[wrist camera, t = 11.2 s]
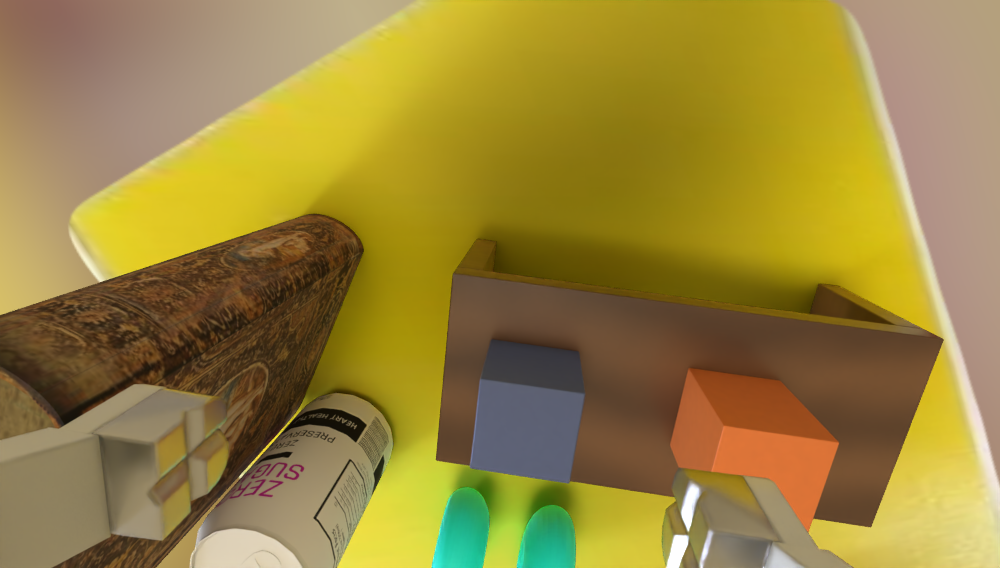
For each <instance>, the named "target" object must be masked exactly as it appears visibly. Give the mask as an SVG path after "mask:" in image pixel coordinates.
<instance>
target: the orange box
mask: <svg viewBox="0 0 1000 568" xmlns="http://www.w3.org/2000/svg"><path fill="white" fill-rule="evenodd" d="M838 445H839V442H838V441H837V440H836V439H835V438H834V437H833V436H832V435H831V434H830V432H829V431H828V430H827V429H826V428H825V427H824V426H823V425H822V424H821V423H820V422H819V421H818V420H817V419H816V418H815V417H814V416H813V415H812V414H811V413H810V412H809V410H808V409H807V408H806V407H805V406H804V405H803V404H802V403H801V402H800V401H799V400H798V399H797V398H796V397H795V396H794V395H793V394H792V393H791V392H790V391H789V389H788V388H787V387H786V386H785V385H784V384H783V383H782V382H781V381H779V380H772V379H764V378H757V377H750V376H743V375H736V374H729V373H722V372H715V371H708V370H700V369H693V368H688V372H687V377H686V381H685V385H684V389H683V393H682V397H681V402H680V406H679V410H678V414H677V418H676V422H675V427H674V431H673V435H672V439H671V443H670V447H671V449H672V452H673V454H674V457H675V459H676V462H677V464H678V467H680V468H688V469H695V470H703V471H711V472H719V473H726V474H734V475H745V476H754V477H762V478H769V479H770V480H772V481H773V482H775V484H776V485H777V487H778V488H779V490H780V491H781V493H782V494H783V496H784V497H785V499H786V500H787V502H788V503H789V505H790V506H791V508H792V509H793V511H794V512H795V514H796V515H797V517H798V518H799V520H800V521H801V523H802V524H803V526H804V527H805V529H806V530H807V532H809V529H810V526H811V523H812V520H813V517H814V514H815V511H816V509H817V506H818V503H819V500H820V497H821V494H822V491H823V488H824V486H825V483H826V480H827V477H828V474H829V471H830V468H831V465H832V462H833V460H834V457H835V454H836V451H837V448H838Z"/></svg>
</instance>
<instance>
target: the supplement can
mask: <svg viewBox="0 0 1000 568" xmlns="http://www.w3.org/2000/svg"><path fill="white" fill-rule="evenodd" d="M392 448H393V439H392V433H391V428H390V426H389V425H388V423H387V421H386V420H385V418H384V416H383V414H382V413H381V412H379V411H378V410H377V409H376V408H375V407H374V406H373V405H372V404H370V403H369V402H367V401H365V400H363V399H361V398H358V397H356V396H354V395H349V394H340V393H333V394H329V395H324V396H320V397H318V398H316V399H315V400H313V401H312V402H310V403H309V404H308V405H306V406H305V407H304V409H303V410H302V411H301V412H300V413H299V414H298V415H297V416H296V417H295V419H294V420H293V421H292V422H291V423H290V424H289V425H288V426H287V427H286V429H285V430H284V431H283V432H282V433H281V434H280V435H279V436H278V437H277V439H276V440H275V441H274V442H273V443H272V444H271V445H270V446H269V448H268V449H267V450H266V451H265V452H264V453H263V454H262V455H261V456H260V458H259V459H258V460H257V461H256V462H255V463H254V464H253V465H252V466H251V468H250V469H249V470H248V471H247V472H246V473H245V474H244V475H243V476H242V478H241V479H240V480H239V481H238V482H237V483H236V484H235V485H234V487H233V488H232V489H231V490H230V491H229V492H228V493H227V494H226V495H225V497H224V498H223V499H222V500H221V501H220V502H219V503H218V504H217V505H216V507H215V508H214V509H213V510H212V511H211V512H210V513H209V514H208V516H207V517H206V519H205V521H204V522H203V524H202V526H201V527H200V529H199V531H198V535H197V540H196V546H195V550H194V551H193V553H192V554H191V560H190V568H337V566H338V564H339V562H340V560H341V558H342V556H343V554H344V552H345V550H346V548H347V546H348V544H349V541H350V539H351V537H352V535H353V533H354V531H355V529H356V527H357V525H358V523H359V521H360V519H361V517H362V515H363V513H364V511H365V509H366V507H367V505H368V503H369V501H370V499H371V496H372V494H373V492H374V490H375V488H376V486H377V484H378V482H379V480H380V478H381V476H382V474H383V472H384V470H385V468H386V466H387V464H388V462H389V460H390V457H391V452H392Z"/></svg>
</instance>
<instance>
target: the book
mask: <svg viewBox="0 0 1000 568" xmlns="http://www.w3.org/2000/svg"><path fill="white" fill-rule="evenodd" d="M363 252H364V250H363V246H362V243H361V241H360V239H359V238H358V236H357V235H356V234H355V233H354V232H353V231H352V230H351V229H350V228H349V227H347V226H346V225H344V224H343V223H341V222H339V221H338V220H336V219H333V218H331V217H328V216H325V215H320V214H308V215H304V216H301V217H298V218H295V219H292V220H289V221H286V222H283V223H280V224H277V225H274V226H271V227H268V228H264V229H261V230H258V231H255V232H252V233H249V234H246V235H243V236H240V237H237V238H234V239H231V240H228V241H225V242H222V243H219V244H216V245H213V246H210V247H207V248H204V249H200V250H197V251H194V252H191V253H188V254H185V255H182V256H179V257H176V258H173V259H170V260H167V261H164V262H161V263H158V264H155V265H152V266H149V267H146V268H143V269H140V270H137V271H133V272H130V273H127V274H124V275H121V276H118V277H115V278H112V279H109V280H106V281H103V282H100V283H97V284H94V285H91V286H88V287H85V288H82V289H79V290H76V291H73V292H69V293H67V294H63V295H60V296H57V297H54V298H51V299H48V300H45V301H42V302H39V303H36V304H33V305H30V306H27V307H24V308H21V309H18V310H15V311H12V312H9V313H6V314H3V315H0V440H3V439H7V438H11V437H15V436H19V435H22V434H26V433H30V432H34V431H38V430H42V429H46V428H57V429H59V428H61V427H63V426H64V425H66V424H68V423H69V422H71V421H73V420H75V419H76V418H78V417H80V416H81V415H83V414H85V413H86V412H88V411H90V410H91V409H93V408H95V407H97V406H98V405H100V404H102V403H103V402H105V401H107V400H108V399H110V398H112V397H114V396H115V395H117V394H119V393H120V392H122V391H124V390H125V389H127V388H129V387H130V386H132V385H134V384H147V385H155V386H162V387H166V388H173V389H179V390H184V391H190V392H196V393H202V394H207V395H213V396H219V397H221V398H222V399H223V400H224V401H225V402H226V407H227V420H226V422H225V423H224V424H223V425H222V426H221V428H220V430H221V431H222V432H223V434H224V435H225V437H226V438H227V440H228V445H229V454H228V459H227V464H226V467H225V469H224V471H223V474H222V476H221V478H220V480H219V482H218V483H217V484H216V485H215V486H214V487H213V488H212V490H211V491H210V492H209V493H208V494H206V495H204V496H201V497H199V498H197V499H195V500H192V501H190V506H191V512H190V513H189V514H188V515H187V516H186V517H185V518H184V519H183V520H182V521H181V522H180V523H179V524H178V525H177V526H176V527H175V528H174V530H173V531H172V532H171V533H170V534H169V535H168V536H167V537H166V538H165V539H164V540H163V541H160V540H153V539H145V538H138V537H131V536H123V535H116V534H111V536H110V537H109V538H107V539H105V540H103V541H101V542H100V543H98V544H96V545H94V546H92V547H90V548H88V549H86V550H84V551H83V552H81V553H79V554H77V555H75V556H73V557H71V558H69V559H67V560H66V561H64V562H62V563H60V564H58V565H56V566H54V567H52V568H156V567H157V566H158V565H159V564H160V562H161V561H162V560H163V559H164V558H165V557H166V556H167V555H168V553H170V551H171V550H172V549H173V548H174V547H175V546H176V545H177V544H178V543H179V541H180V540H181V539H182V538H183V537H184V536H185V535H186V534H187V533H188V532H189V530H190V529H191V528H192V527H193V526H194V525H195V524H196V523H197V522H198V521H199V520H200V518H201V517H202V516H203V515H204V514H205V513H206V512H207V511H208V510H209V509H210V507H211V506H212V505H213V504H214V503H215V502H216V501H217V500H218V498H220V496H221V495H222V494H223V493H224V492H225V491H226V489H228V488H229V486H230V485H231V484H232V483H233V482H234V481H235V480H236V479H237V478H238V477H239V476H240V474H241V473H242V472H243V471H244V470H245V469H246V468H247V467H248V466H249V465H250V463H251V462H252V461H253V460H254V459H255V458H256V457H257V456H258V455H259V454H260V452H261V451H262V450H263V449H264V448H265V447H266V446H267V445H268V444H269V443H270V441H271V440H272V439H273V438H274V437H275V436H276V435H277V434H278V433H279V432H280V430H281V429H282V428H283V427H284V426H285V425H286V424H287V423H288V421H289V420H290V419H291V418H292V417H293V415H294V414H295V413H296V411H297V410H298V408H299V407H300V405H301V403H302V401H303V398H304V396H305V394H306V391H307V389H308V387H309V384H310V382H311V379H312V377H313V375H314V372H315V370H316V367H317V365H318V362H319V360H320V357H321V355H322V352H323V350H324V348H325V345H326V343H327V340H328V338H329V335H330V333H331V330H332V328H333V325H334V323H335V320H336V318H337V315H338V313H339V311H340V308H341V306H342V303H343V301H344V298H345V296H346V293H347V291H348V288H349V286H350V283H351V281H352V278H353V276H354V273H355V271H356V269H357V266H358V264H359V261H360V259H361V256H362V254H363Z"/></svg>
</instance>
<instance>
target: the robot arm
mask: <svg viewBox="0 0 1000 568" xmlns="http://www.w3.org/2000/svg"><path fill="white" fill-rule="evenodd" d="M226 420H227V407H226V402H225V401H224V400H223V399H222V398H221V397H219V396H213V395H207V394H202V393H196V392H190V391H184V390H179V389H173V388H166V387H162V386H155V385H147V384H134V385H132V386H130V387H129V388H127V389H125V390H124V391H122V392H120V393H119V394H117V395H115V396H114V397H112V398H110V399H108V400H107V401H105V402H103V403H102V404H100V405H98V406H97V407H95V408H93V409H91V410H90V411H88V412H86V413H85V414H83V415H81V416H80V417H78V418H76V419H75V420H73V421H71V422H69V423H68V424H66V425H64V426H63V427H61V428H59V429H57V428H46V429H42V430H38V431H34V432H30V433H26V434H22V435H19V436H15V437H11V438H7V439H3V440H0V568H52V567H54V566H56V565H58V564H60V563H62V562H64V561H66V560H67V559H69V558H71V557H73V556H75V555H77V554H79V553H81V552H83V551H84V550H86V549H88V548H90V547H92V546H94V545H96V544H98V543H100V542H101V541H103V540H105V539H107V538H109V537H110V536H111V534H116V535H123V536H131V537H138V538H145V539H153V540H160V541H163V540H164V539H165V538H166V537H167V536H168V535H169V534H170V533H171V532H172V531H173V530H174V528H175V527H176V526H177V525H178V524H179V523H180V522H181V521H182V520H183V519H184V518H185V517H186V516H187V515H188V514H189V513H190V512H191V506H190V501H192V500H195V499H197V498H199V497H201V496H204V495H206V494H208V493H209V492H210V491H211V490H212V488H213V487H214V486H215V485H216V484H217V483H218V482H219V480H220V478H221V476H222V474H223V471H224V469H225V467H226V464H227V459H228V454H229V445H228V440H227V438H226V437H225V435H224V434H223V432H222V431H221V430H220V428H221V426H222V425H223V424H224V423H225V422H226ZM671 488H672V491H673V494H674V497H675V500H676V502H674V503H673V504H672V505H671V506H669V507H668V508H667V509H666V512H665V516H664V521H663V526H662V549H663V556H664V560H665V564H666V568H853V567H852V566H850V565H849V564H848V563H846V562H845V561H843V560H842V559H840V558H839V557H838V556H836V555H835V554H833V553H832V552H830V551H828V550H822V549H819V548H818V547H817V545H816V544H815V542H814V541H813V539H812V538H811V536H810V535H809V533H808V532H807V530H806V529H805V527H804V526H803V524H802V523H801V521H800V520H799V518H798V517H797V515H796V514H795V512H794V511H793V509H792V508H791V506H790V505H789V503H788V502H787V500H786V499H785V497H784V496H783V494H782V493H781V491H780V490H779V488H778V487H777V485H776V484H775V482H773V481H772V480H770V479H769V478H762V477H754V476H745V475H734V474H726V473H719V472H711V471H703V470H695V469H688V468H680V467H679V468H678V470H677V472H676V473H675V476H674V479H673V483H672V487H671Z"/></svg>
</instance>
